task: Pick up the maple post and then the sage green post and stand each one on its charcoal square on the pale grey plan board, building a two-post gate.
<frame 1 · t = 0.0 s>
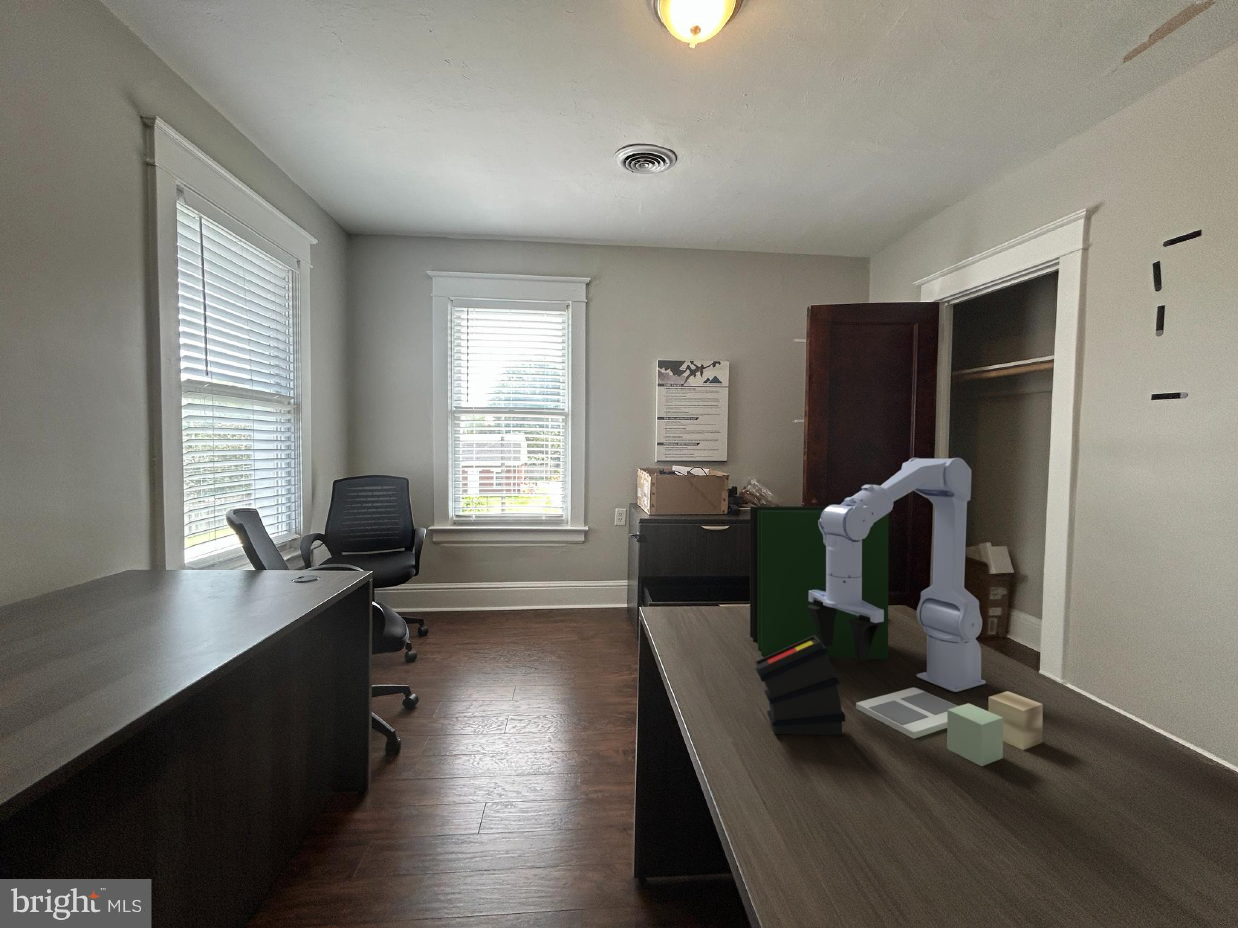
hand: (843, 652, 92), 10 cm above the table, tool pointing down, fingers open, 7 cm apart
maple post: (1014, 738, 83), on the table
binder: (813, 646, 124), on the table
plan board: (913, 713, 91), on the table
sage post: (974, 753, 79), on the table
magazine: (798, 731, 86), on the table
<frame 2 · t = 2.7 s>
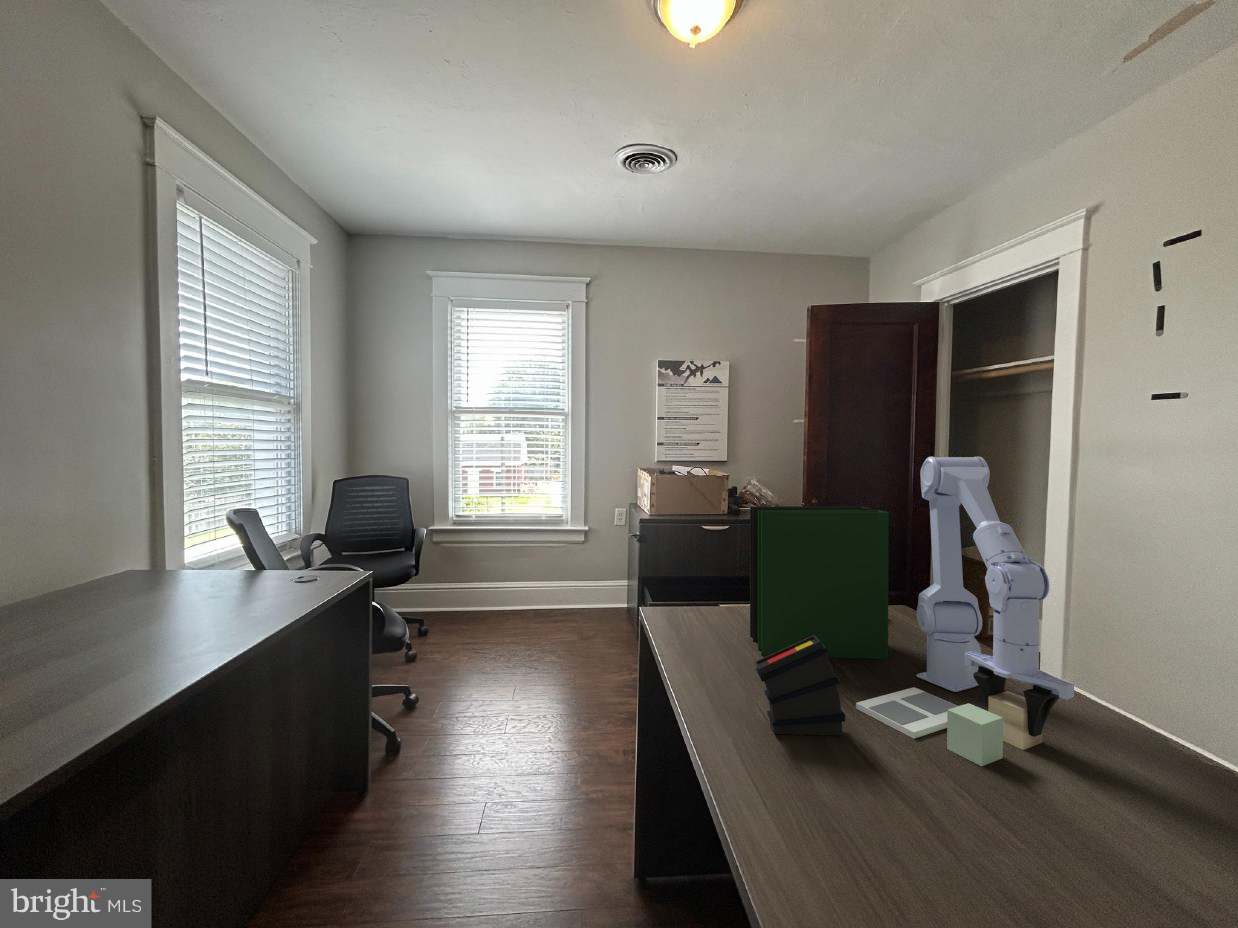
hand: (1015, 725, 83), 2 cm above the table, tool pointing down, fingers closed on maple post, 5 cm apart
maple post: (1014, 738, 83), on the table, touching gripper
everything else where it was.
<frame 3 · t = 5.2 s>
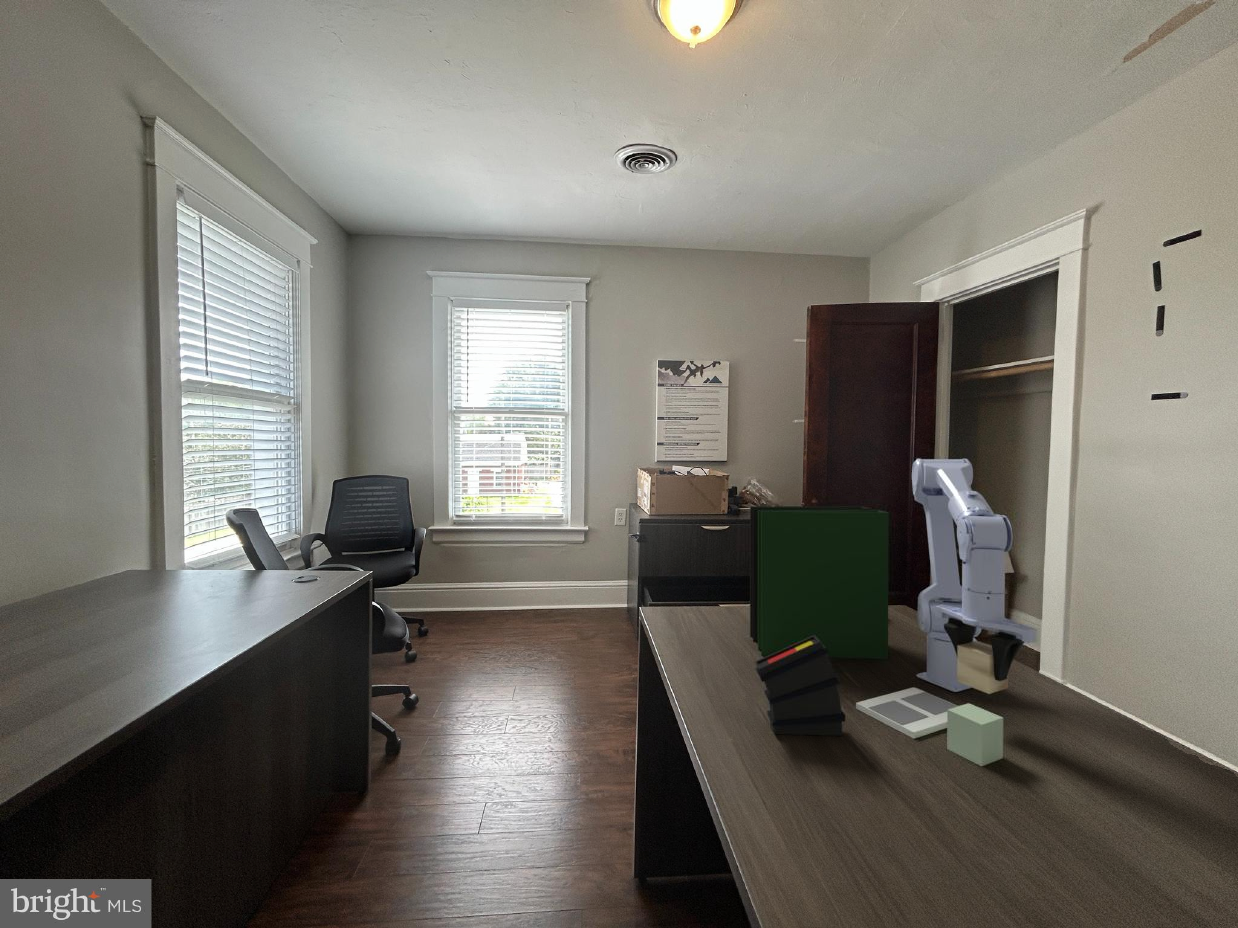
hand: (982, 672, 87), 9 cm above the table, tool pointing down, fingers closed on maple post, 5 cm apart
maple post: (982, 684, 87), point 7 cm above the table, touching gripper
everything else where it was.
when the fingers open (4 cm above the table, at t = 7.6 s): maple post stays where it is, resting on plan board.
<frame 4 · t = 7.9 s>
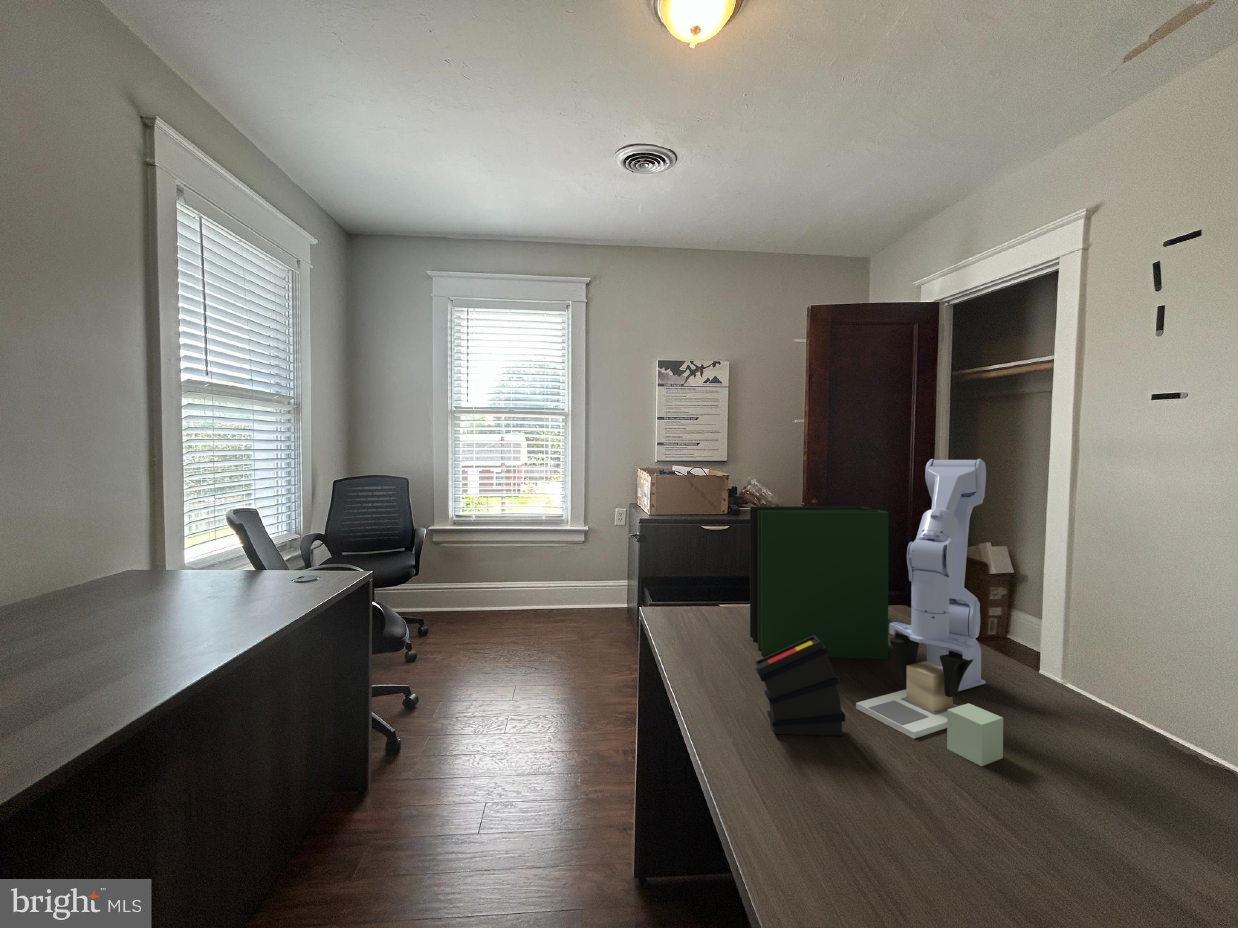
hand: (929, 686, 93), 4 cm above the table, tool pointing down, fingers open, 7 cm apart
maple post: (929, 702, 93), point 1 cm above the table, touching plan board
everything else where it was.
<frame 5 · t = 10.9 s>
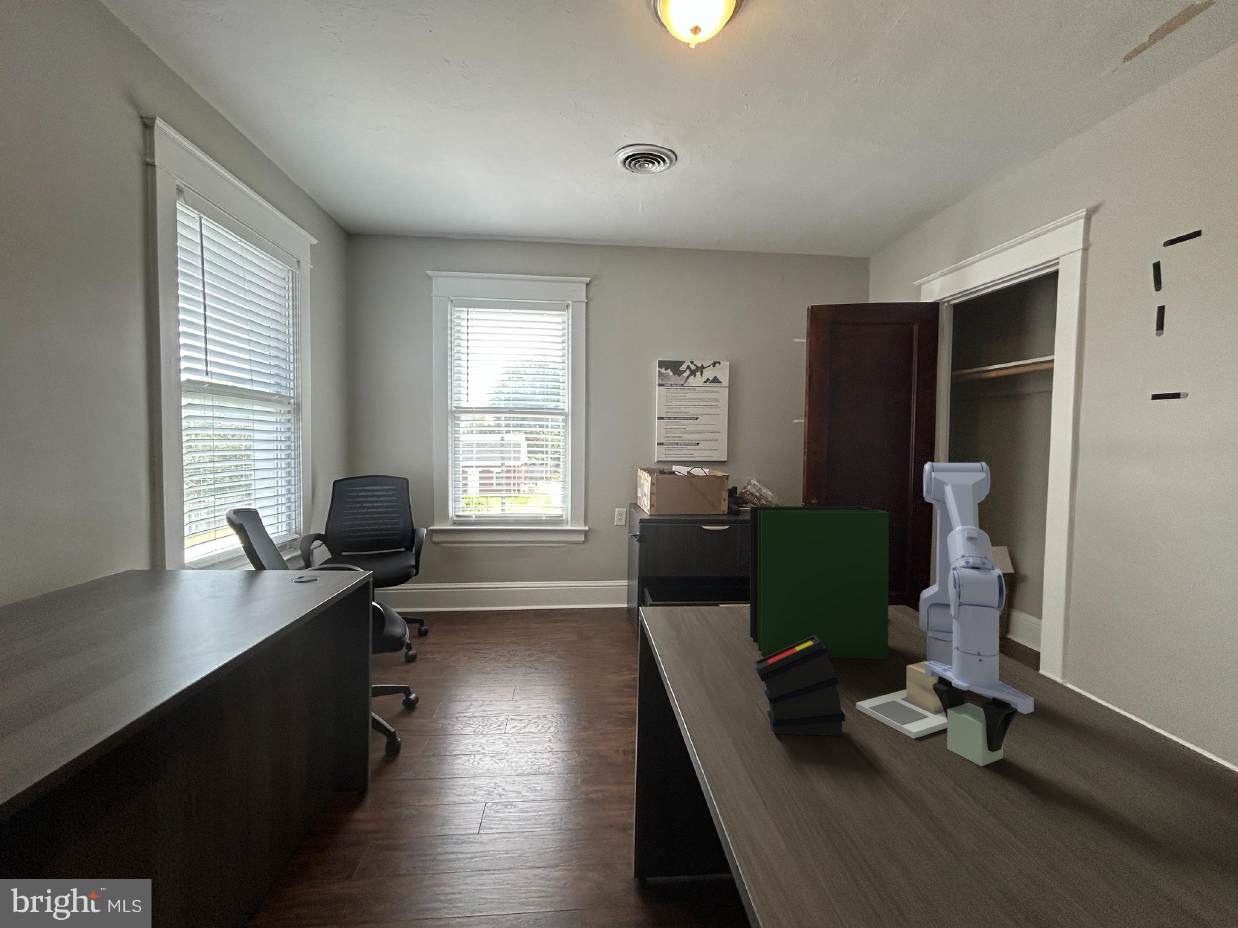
hand: (974, 740, 79), 2 cm above the table, tool pointing down, fingers closed on sage post, 5 cm apart
sage post: (974, 753, 79), on the table, touching gripper
everything else where it was.
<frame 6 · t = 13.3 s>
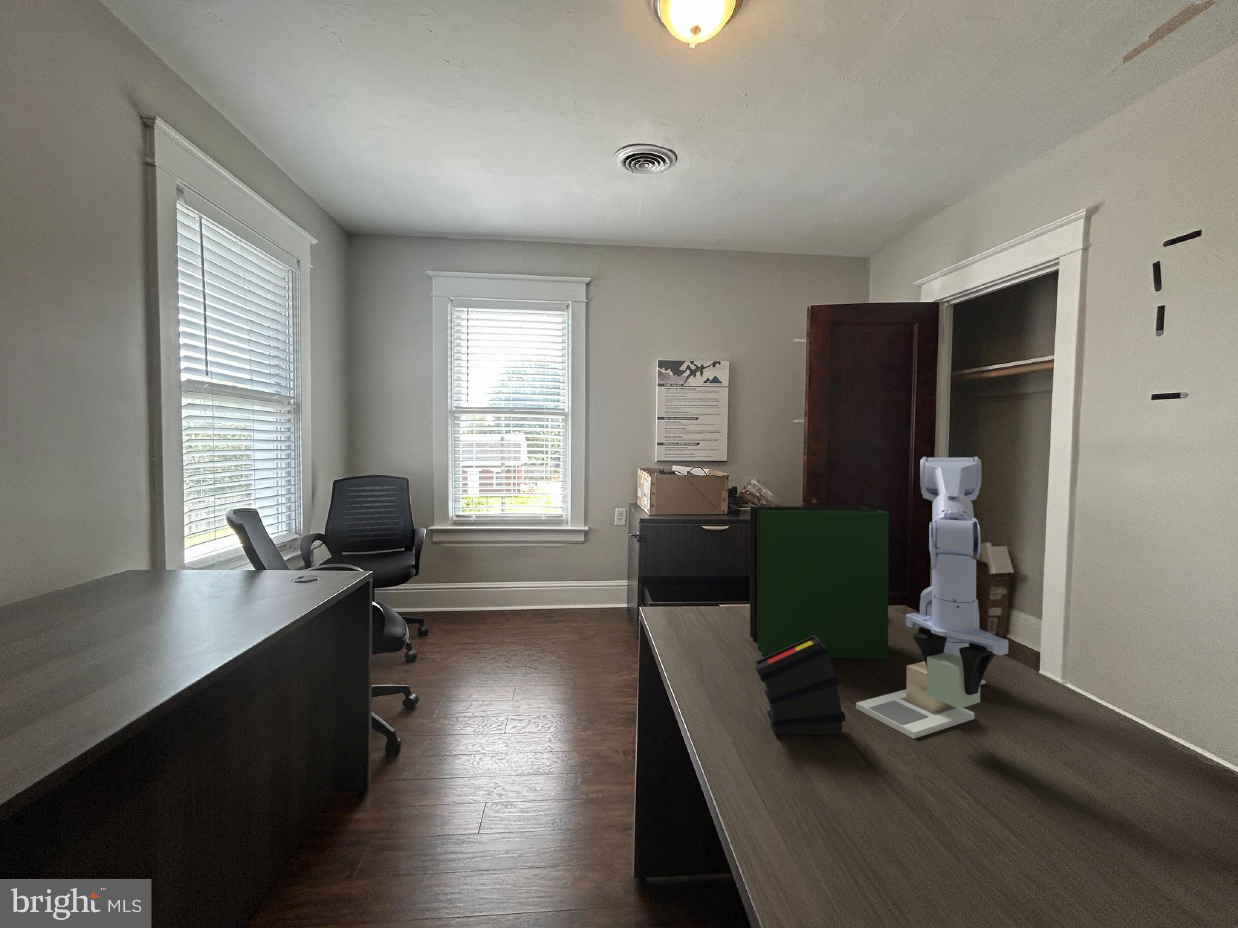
hand: (953, 685, 82), 9 cm above the table, tool pointing down, fingers closed on sage post, 5 cm apart
sage post: (953, 698, 82), point 7 cm above the table, touching gripper
everything else where it was.
when the fingers open (4 cm above the table, at t = 15.8 s): sage post stays where it is, resting on plan board.
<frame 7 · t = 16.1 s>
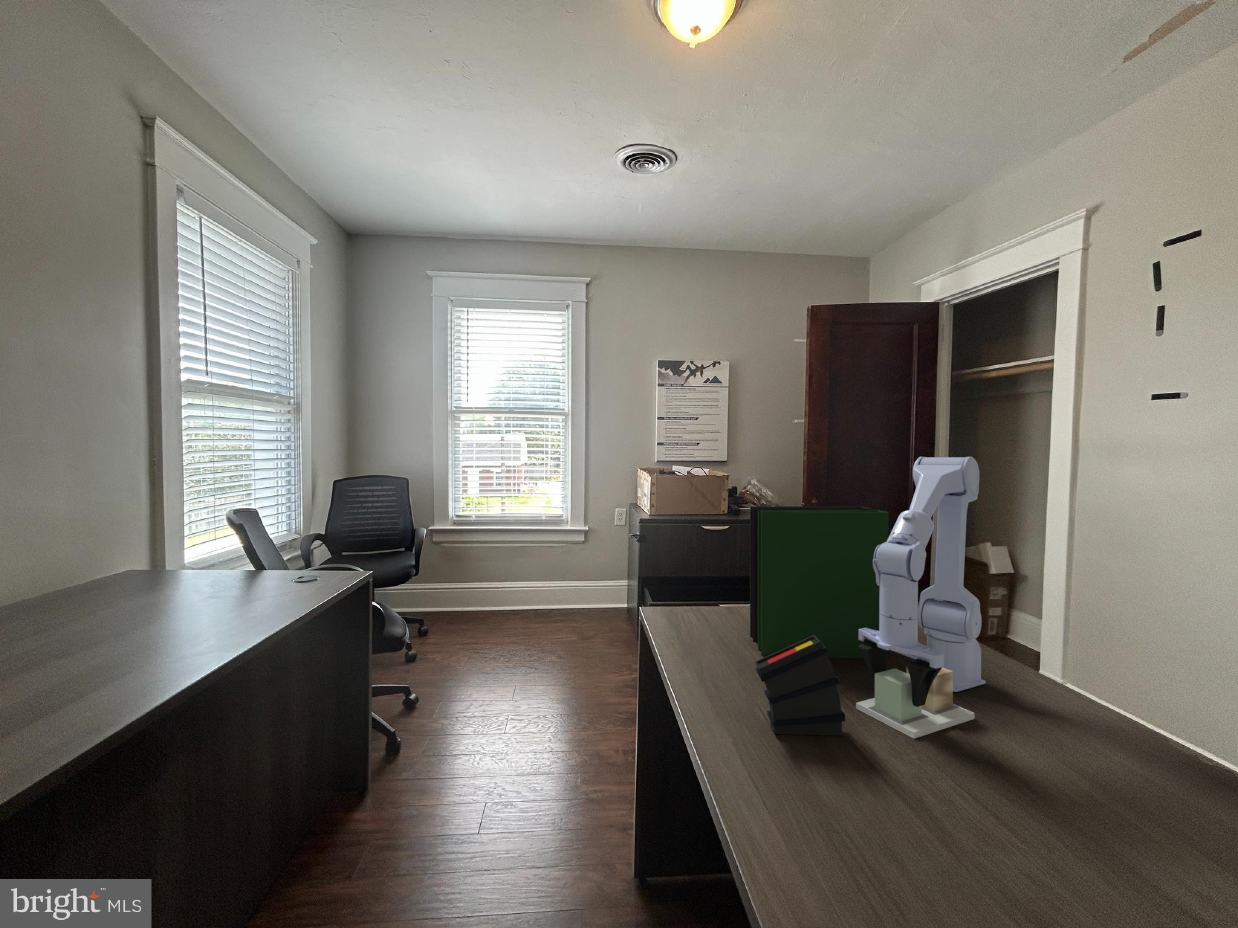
hand: (897, 695, 89), 4 cm above the table, tool pointing down, fingers open, 7 cm apart
sage post: (897, 711, 89), point 1 cm above the table, touching plan board
everything else where it was.
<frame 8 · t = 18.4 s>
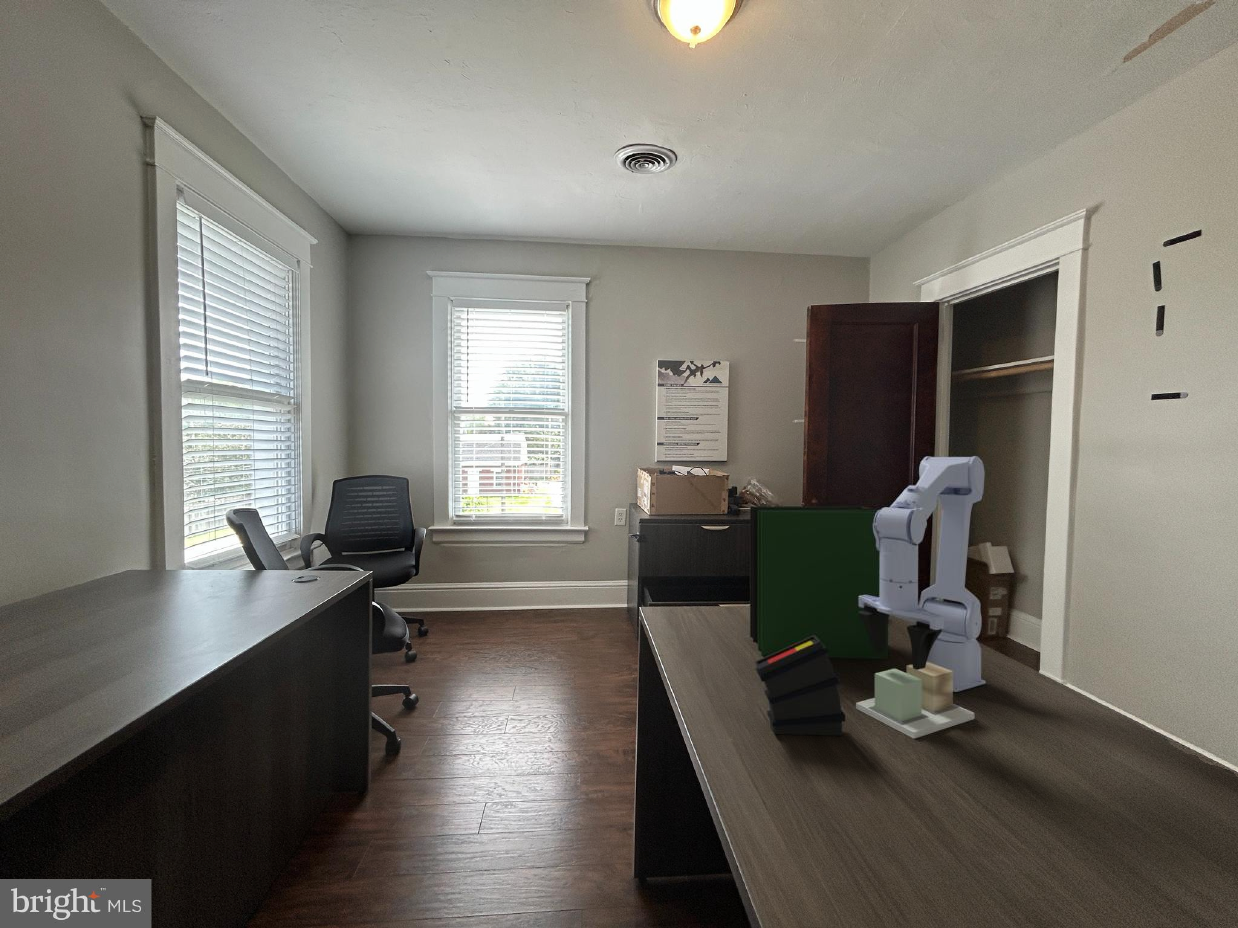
hand: (898, 659, 89), 10 cm above the table, tool pointing down, fingers open, 7 cm apart
nothing on the table moved.
at the end: maple post 0.0 cm from the target spot on the plan board, point 1.1 cm above the plan board's base; sage post 0.0 cm from the target spot on the plan board, point 1.1 cm above the plan board's base; sage post tilted 0° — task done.
